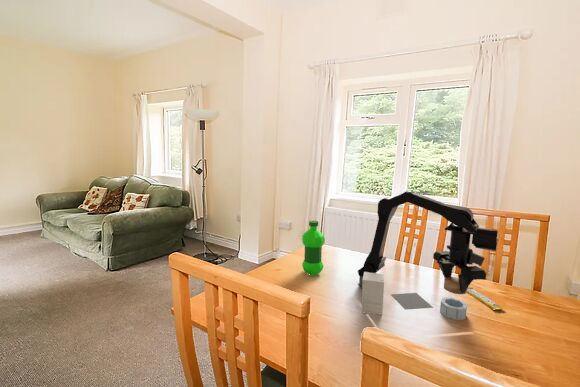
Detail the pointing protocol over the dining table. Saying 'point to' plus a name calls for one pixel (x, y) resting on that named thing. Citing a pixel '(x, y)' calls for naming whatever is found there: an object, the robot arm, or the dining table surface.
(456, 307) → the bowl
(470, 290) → the candy bar
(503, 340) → the dining table surface
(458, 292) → the tan rounded dome
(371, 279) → the supplement box
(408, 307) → the mat
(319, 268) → the plastic bottle
